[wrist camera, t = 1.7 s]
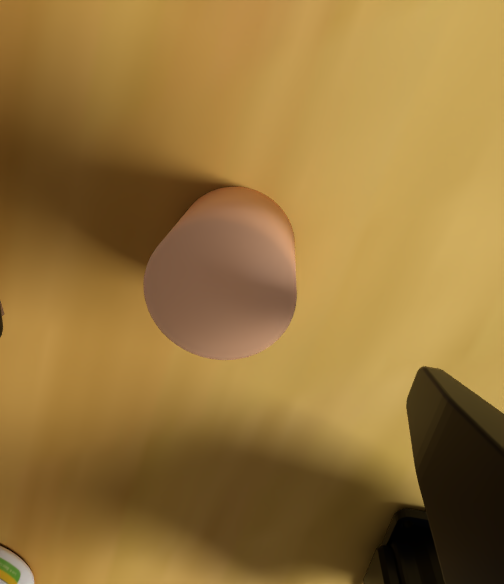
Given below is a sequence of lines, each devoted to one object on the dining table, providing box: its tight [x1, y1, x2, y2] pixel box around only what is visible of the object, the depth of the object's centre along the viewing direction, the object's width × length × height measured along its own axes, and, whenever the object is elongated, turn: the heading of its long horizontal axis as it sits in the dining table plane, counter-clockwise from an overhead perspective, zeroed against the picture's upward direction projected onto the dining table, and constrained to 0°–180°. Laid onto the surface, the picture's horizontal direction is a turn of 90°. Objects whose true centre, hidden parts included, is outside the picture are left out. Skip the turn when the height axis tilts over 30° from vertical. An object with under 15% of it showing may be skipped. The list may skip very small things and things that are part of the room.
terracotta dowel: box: [144, 187, 297, 360], centre depth 13 cm, size 4×4×4 cm
